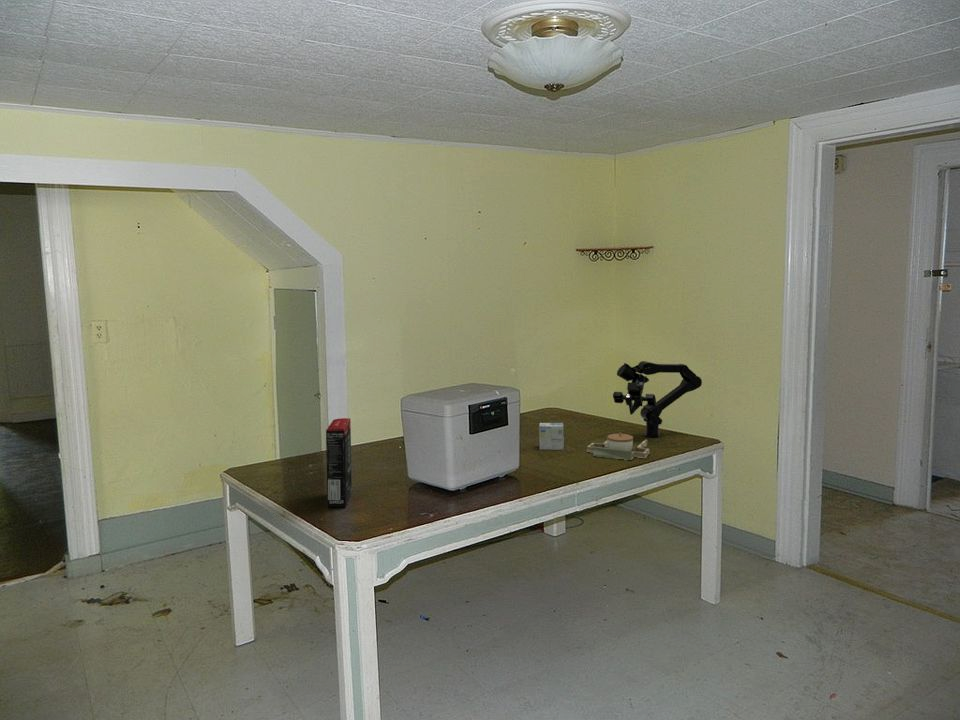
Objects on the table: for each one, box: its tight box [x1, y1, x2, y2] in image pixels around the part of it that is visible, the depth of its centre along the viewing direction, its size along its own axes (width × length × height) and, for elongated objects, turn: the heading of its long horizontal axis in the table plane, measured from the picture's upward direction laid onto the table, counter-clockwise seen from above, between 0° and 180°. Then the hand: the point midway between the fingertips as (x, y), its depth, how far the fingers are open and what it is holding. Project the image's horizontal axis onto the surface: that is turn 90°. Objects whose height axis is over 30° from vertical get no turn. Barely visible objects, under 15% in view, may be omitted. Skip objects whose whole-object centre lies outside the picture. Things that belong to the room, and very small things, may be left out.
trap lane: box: [586, 439, 651, 461], centre depth 306 cm, size 28×25×4 cm
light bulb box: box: [538, 422, 565, 451], centre depth 311 cm, size 11×7×11 cm, turn 84°
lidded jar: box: [606, 432, 634, 451], centre depth 300 cm, size 11×11×9 cm
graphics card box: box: [325, 417, 353, 508], centre depth 243 cm, size 17×7×27 cm, turn 4°
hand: (631, 414), depth 317 cm, fingers closed
